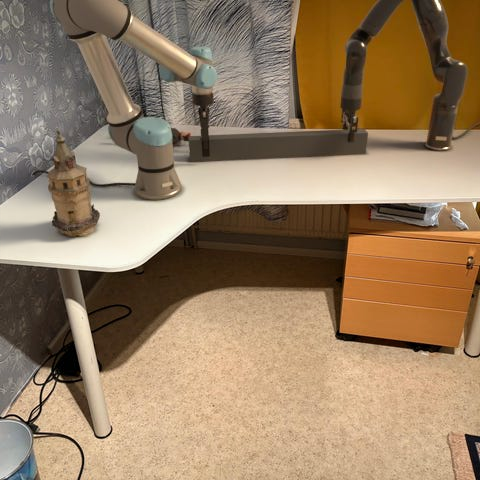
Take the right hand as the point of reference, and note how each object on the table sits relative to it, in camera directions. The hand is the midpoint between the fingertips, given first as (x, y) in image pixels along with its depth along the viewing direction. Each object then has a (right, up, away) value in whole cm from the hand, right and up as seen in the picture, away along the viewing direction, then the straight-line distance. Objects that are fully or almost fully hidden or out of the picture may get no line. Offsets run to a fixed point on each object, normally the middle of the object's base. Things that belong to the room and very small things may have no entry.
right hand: (347, 138), depth 205 cm
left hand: (-54, -5, -3) cm, 55 cm away
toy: (-76, +1, +15) cm, 77 cm away
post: (-27, -6, +1) cm, 27 cm away
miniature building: (-88, -36, -49) cm, 107 cm away
